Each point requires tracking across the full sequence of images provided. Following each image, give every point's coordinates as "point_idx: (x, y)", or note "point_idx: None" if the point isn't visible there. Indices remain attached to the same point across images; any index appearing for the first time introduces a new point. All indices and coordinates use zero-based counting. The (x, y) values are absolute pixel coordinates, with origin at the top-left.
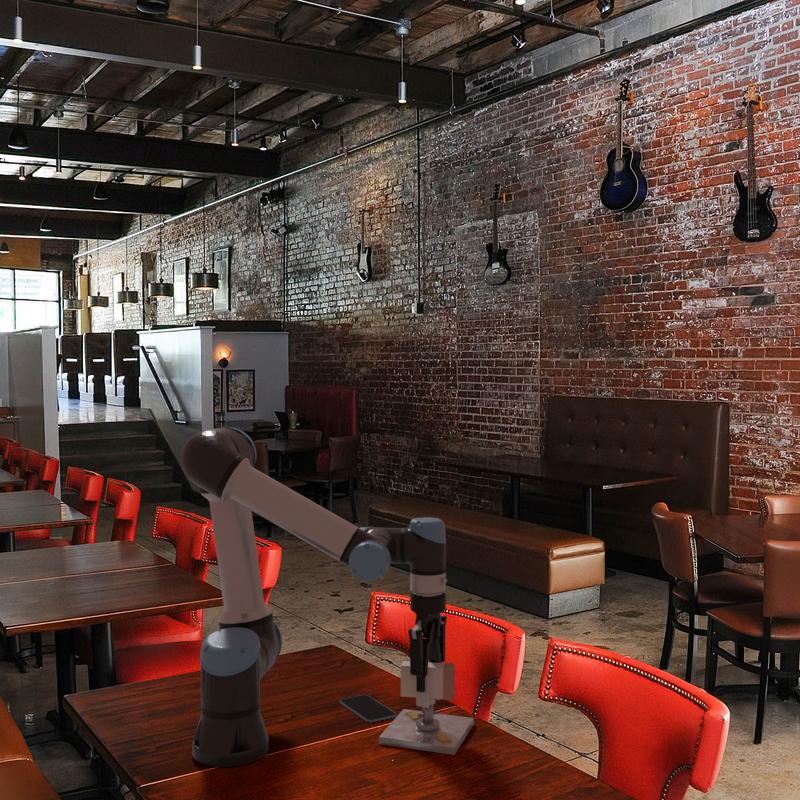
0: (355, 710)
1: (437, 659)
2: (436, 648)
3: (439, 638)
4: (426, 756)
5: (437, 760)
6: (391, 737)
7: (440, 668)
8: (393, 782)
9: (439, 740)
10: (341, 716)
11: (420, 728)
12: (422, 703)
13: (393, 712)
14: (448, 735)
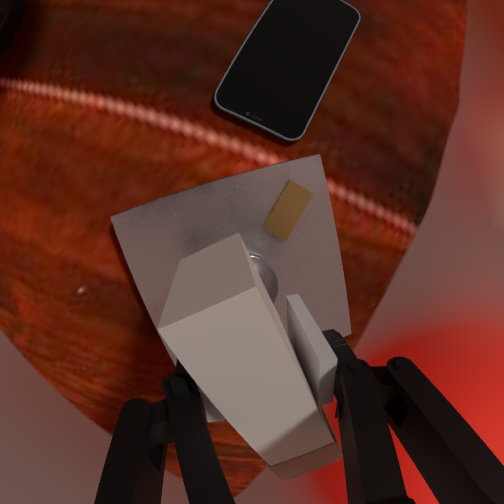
0: (255, 33)
1: (340, 429)
2: (346, 481)
3: (432, 471)
4: (141, 336)
5: (143, 360)
6: (127, 246)
7: (265, 459)
8: (34, 337)
9: None
10: (210, 22)
11: None
12: None
13: (304, 126)
14: None
